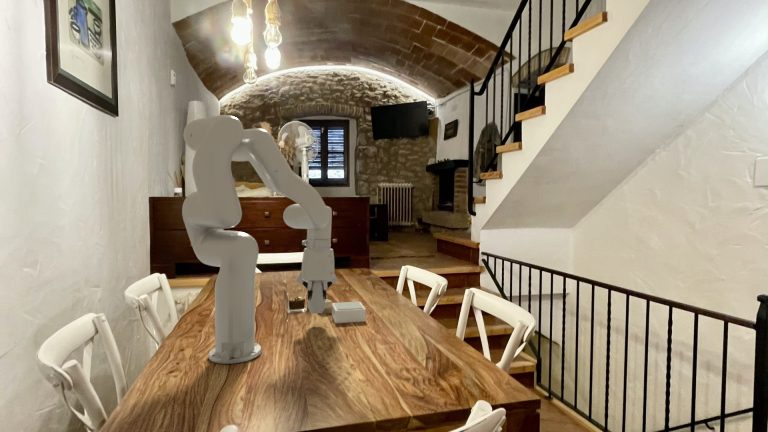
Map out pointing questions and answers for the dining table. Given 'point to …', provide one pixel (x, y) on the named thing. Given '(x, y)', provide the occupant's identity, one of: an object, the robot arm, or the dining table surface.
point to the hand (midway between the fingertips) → (316, 301)
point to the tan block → (328, 307)
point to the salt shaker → (317, 298)
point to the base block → (348, 312)
